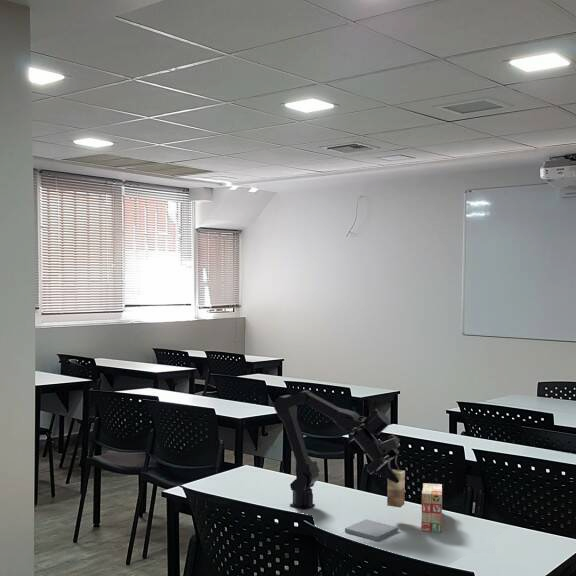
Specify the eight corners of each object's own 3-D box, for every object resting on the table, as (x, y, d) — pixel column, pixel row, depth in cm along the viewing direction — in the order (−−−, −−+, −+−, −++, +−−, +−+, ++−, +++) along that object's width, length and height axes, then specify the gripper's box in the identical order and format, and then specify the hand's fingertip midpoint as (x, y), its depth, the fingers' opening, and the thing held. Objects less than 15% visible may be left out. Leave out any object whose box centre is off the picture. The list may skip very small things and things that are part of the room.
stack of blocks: (423, 511, 249) (424, 476, 249) (442, 513, 247) (442, 477, 247) (421, 531, 228) (421, 492, 228) (441, 533, 226) (441, 494, 226)
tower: (387, 505, 237) (387, 472, 237) (391, 502, 241) (391, 469, 241) (400, 507, 235) (400, 473, 235) (404, 504, 239) (404, 470, 239)
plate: (344, 532, 226) (345, 528, 226) (366, 522, 235) (366, 519, 235) (377, 540, 218) (377, 536, 218) (398, 531, 227) (398, 527, 227)
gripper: (376, 433, 231) (409, 471, 226) (393, 423, 248) (424, 459, 243) (353, 454, 234) (385, 493, 230) (371, 444, 251) (401, 480, 246)
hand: (400, 480), depth 237 cm, fingers closed on tower, 4 cm apart
